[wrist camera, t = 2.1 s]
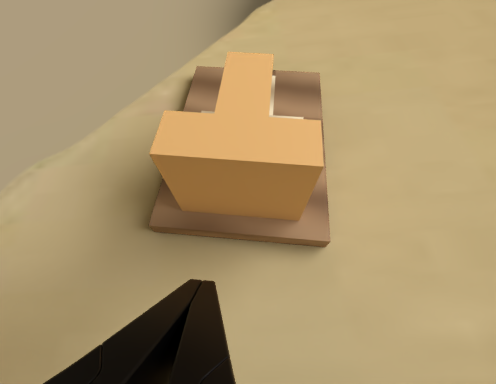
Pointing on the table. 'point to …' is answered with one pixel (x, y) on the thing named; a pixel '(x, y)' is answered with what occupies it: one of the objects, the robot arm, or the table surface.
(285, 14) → the table surface
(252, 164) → the t block
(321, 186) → the board
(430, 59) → the table surface
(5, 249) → the table surface
